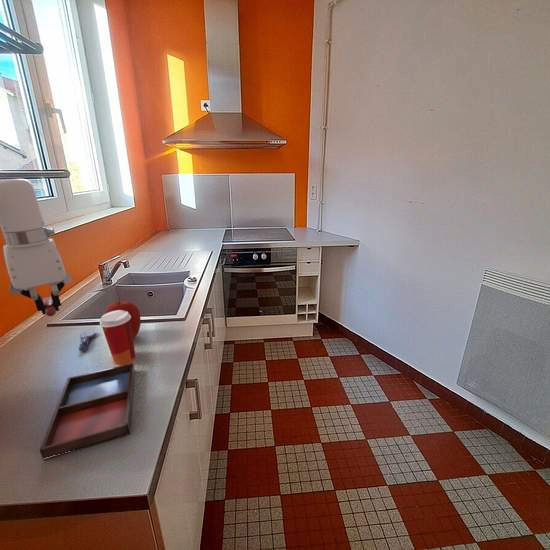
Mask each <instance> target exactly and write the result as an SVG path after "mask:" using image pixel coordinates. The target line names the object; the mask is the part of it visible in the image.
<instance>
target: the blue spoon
mask: <svg viewBox="0 0 550 550" xmlns="http://www.w3.org/2000/svg"><path fill="white" fill-rule="evenodd" d="M96 336H97V332H96V330H94V329H90V330H86V331H83V332H82V333H80V335H79V338H80V340H81V341H80V344H79V346H78V351H79V352H81V353H84V352H86V351H87V349H88V345H89V342H90V340H92V339H94V338H96Z"/></svg>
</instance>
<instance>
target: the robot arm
mask: <svg viewBox="0 0 550 550" xmlns="http://www.w3.org/2000/svg"><path fill="white" fill-rule="evenodd" d="M38 201H39V200H38V198H37V195H36V192H35V188H34V185H33V184H32V182H31V181H29V180H28V179H25V178H3V179H2V178H1V179H0V230H1V232H2V236H3V238H4V241H5V245H3V256H4V261H5V265H6V269H7V273H8V276H9V279H10V285H9V290H8V293H9V295H17V296H24V297H26V298H29V299H31V300H32V301H34V304H35V307H36V310H37V312H41V313H42V315H46V314H45V307H44V303H43V300H42V299H43V297H42V295H40V294H39V292H38V291H37V288H36V287H41V286H47V285H49V286H50V290H51V291H50V297H51V298H52V301H53V304H54V307H55V310H56V312H59V311H60V308H59V307H61V306H62V303H61V300H60V296H59V294H60V292H61V291H62V289H63V288H64V287H65V286H67V285H68V284H70V283H72V282H73V281H74V278H73V276H72V275H70V273H69V272H68V271H67V270H66V269H65V265H64V262H63V260H62V256H61V254H60V251H59V249H58V247H57V244H56V243H55V240H54V239H53V238H49V237H50V236H53V235H55V234H56V232H55V229H54V228H48V227H46V225H45V222H44V218H43V215H42V212H41V208H40V205H39V202H38Z"/></svg>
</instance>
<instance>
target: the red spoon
mask: <svg viewBox="0 0 550 550" xmlns="http://www.w3.org/2000/svg"><path fill="white" fill-rule="evenodd" d="M42 300H43V303H44V307H45V314H44V315H46V317H54V316H55V315H56V314H57V311H56V310H55V307H54V304H53V301H52V298H51V296H46V297H42Z"/></svg>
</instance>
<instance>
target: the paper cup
mask: <svg viewBox="0 0 550 550" xmlns="http://www.w3.org/2000/svg"><path fill="white" fill-rule="evenodd" d="M130 319H131V315H130V314H129V313H128V312H126V311H122V310H116V311H112V312H109V313H106V314H105V313H104V314H103V315H102V316H100V321H99V326H100V327H101V329H102V331H103V334H104V337H105V340H106V343H107V346H108V349H109V351H110V355H111V357H112V360H113V363H114V364H115V365H117V366H122V365H127V364H131V363H132V361H134V360H135V359H136V350H135V343H134V342H135V341H134V338H133V335H132V328H131V322H130Z"/></svg>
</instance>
